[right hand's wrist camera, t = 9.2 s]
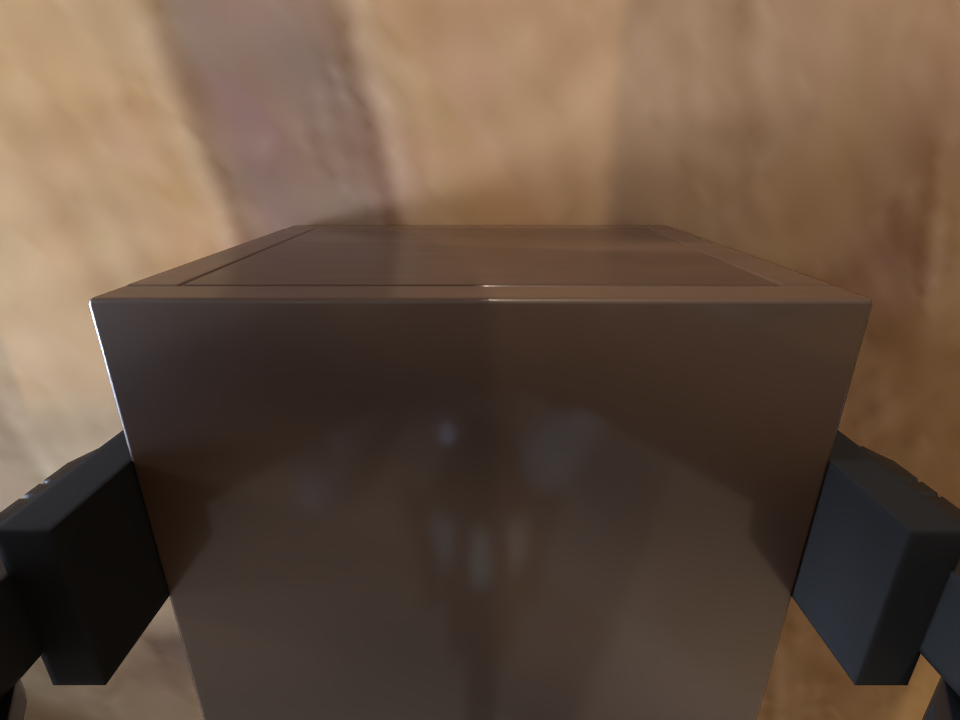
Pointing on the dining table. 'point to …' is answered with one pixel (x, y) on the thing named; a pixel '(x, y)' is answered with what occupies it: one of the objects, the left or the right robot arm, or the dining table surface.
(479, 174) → the dining table surface
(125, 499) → the right robot arm
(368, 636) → the cabinet
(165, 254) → the dining table surface
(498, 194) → the dining table surface
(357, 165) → the dining table surface
